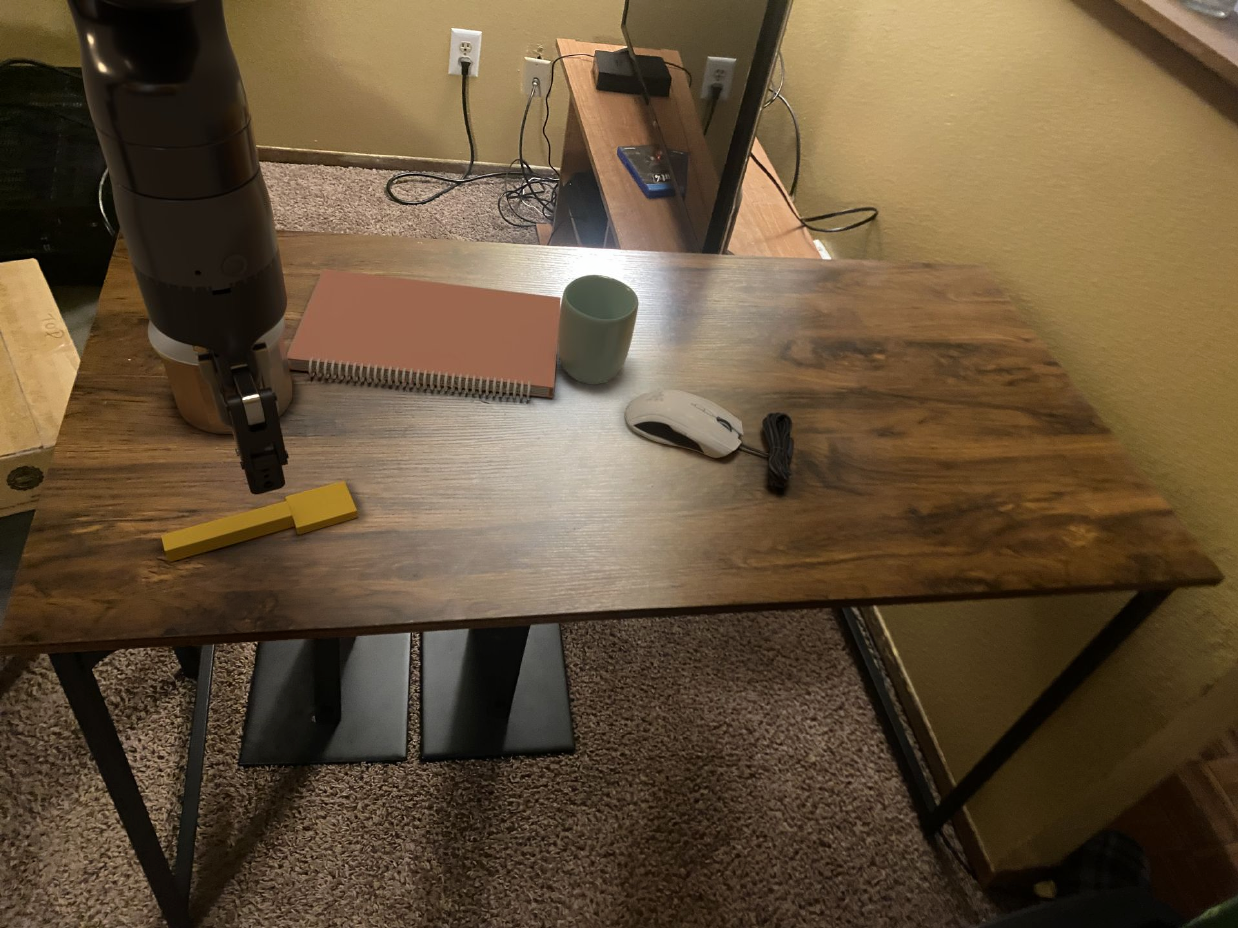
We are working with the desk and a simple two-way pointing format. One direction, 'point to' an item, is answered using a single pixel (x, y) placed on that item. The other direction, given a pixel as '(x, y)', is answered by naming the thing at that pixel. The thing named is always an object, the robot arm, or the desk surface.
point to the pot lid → (187, 355)
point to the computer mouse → (708, 428)
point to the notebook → (428, 335)
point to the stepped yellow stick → (265, 521)
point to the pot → (198, 397)
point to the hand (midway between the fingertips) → (253, 446)
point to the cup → (596, 327)
